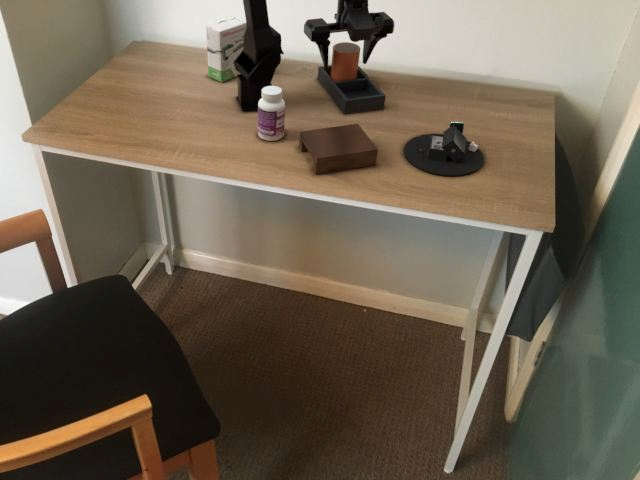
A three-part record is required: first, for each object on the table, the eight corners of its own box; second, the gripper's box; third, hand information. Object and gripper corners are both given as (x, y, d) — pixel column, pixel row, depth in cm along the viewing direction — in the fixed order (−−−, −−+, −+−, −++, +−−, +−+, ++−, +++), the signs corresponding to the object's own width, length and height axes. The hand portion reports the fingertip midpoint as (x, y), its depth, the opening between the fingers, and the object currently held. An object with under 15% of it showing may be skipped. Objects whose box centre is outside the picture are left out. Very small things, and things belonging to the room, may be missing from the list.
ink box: (221, 83, 140) (219, 31, 132) (207, 76, 143) (204, 25, 135) (248, 71, 145) (248, 20, 136) (234, 65, 147) (233, 15, 139)
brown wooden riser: (315, 174, 113) (316, 158, 110) (299, 147, 120) (299, 131, 117) (375, 165, 115) (378, 149, 112) (355, 139, 122) (357, 123, 119)
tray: (344, 114, 129) (345, 100, 127) (317, 79, 141) (318, 66, 139) (383, 109, 131) (385, 95, 129) (353, 75, 143) (355, 62, 141)
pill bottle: (281, 143, 121) (283, 97, 114) (255, 140, 122) (255, 95, 115) (286, 129, 125) (287, 85, 118) (260, 127, 125) (261, 82, 119)
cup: (335, 89, 136) (338, 54, 130) (326, 78, 140) (329, 43, 134) (360, 86, 137) (364, 51, 131) (350, 75, 141) (354, 40, 136)
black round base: (482, 181, 111) (490, 155, 107) (399, 169, 114) (404, 143, 110) (483, 141, 121) (490, 115, 117) (407, 131, 124) (412, 106, 120)
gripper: (323, 9, 118) (317, 86, 129) (411, 0, 121) (398, 76, 132) (304, -10, 126) (301, 64, 136) (388, -17, 129) (378, 55, 140)
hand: (345, 65), depth 136 cm, fingers open, 9 cm apart
